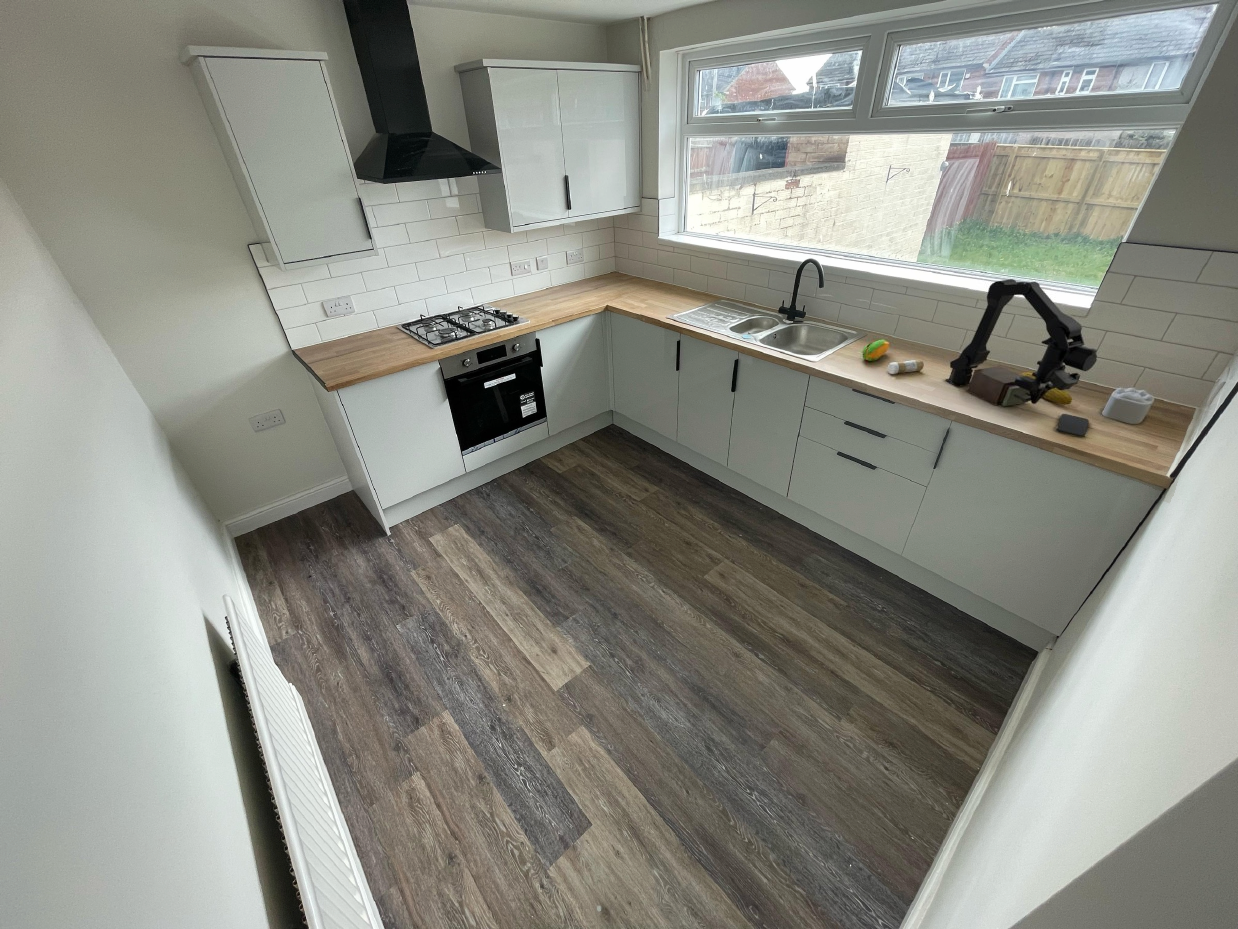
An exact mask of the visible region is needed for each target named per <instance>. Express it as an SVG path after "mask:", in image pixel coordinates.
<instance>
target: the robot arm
mask: <svg viewBox="0 0 1238 929" xmlns="http://www.w3.org/2000/svg"><path fill="white" fill-rule="evenodd" d="M1015 296H1023V297H1024V299H1025V300H1026V301H1027V302H1028V304H1029V305H1030V306H1031V307H1032V308H1033V309H1034V311H1036V313H1037V314H1038V316H1040V318H1041V319H1042V320H1043V322H1044V323H1045V329H1046V332H1047V333H1048V336H1049V337H1048V338H1047V339H1043V340H1042V341H1041V342H1040V343H1041V344H1042V345H1046V349H1045V351H1044V354H1043V356H1042V358H1041V360H1037V362H1036V365H1038V367H1037V369H1036V371H1035V372H1031V373H1032V376H1034V377H1035V378H1031V377H1029V376H1023V377H1018V378H1016V379H1015V381H1014V385H1016V386H1018V387H1021V388H1023V389H1025V390H1027V391H1030V397H1031V401H1030V402H1031V404H1033V405H1036V404H1037V403H1039V401H1040V400H1041V399H1042V398H1044V397H1043V396H1044V395H1045V394H1046V393H1047V392H1048V391H1049V390H1051V389H1054V388H1057V389H1058V390H1061V391H1062V390H1065V391H1067V390H1070V389H1071V388H1072V387H1073V386H1076V385H1078V384H1079V381H1080V377H1081V374H1080V373H1078V372H1073V373H1070V372H1067V371H1065V370H1066V367H1070V368H1073V369H1075V370H1079V371H1082V372H1088V371H1090V370H1091V369H1092V368H1093V367H1094V365H1095V364H1096V362H1097V361H1098V355H1097V352H1098V350H1097V349H1095V348H1090V347H1087V346H1085V341H1084V337H1083V334H1082V330H1083V327H1082V324H1081V323H1080V322H1079V321H1077V320H1076V319H1075V318H1073V317H1072V316H1070V315H1068V314H1065V313H1063V311H1061V309H1060V308H1059V307H1058V306H1057V304H1056V303H1054V301H1053V300H1052V299H1051V297H1049V296H1048V294H1047V293H1046V292H1045V291H1044V290H1043V288H1042V287H1041V285H1040V283H1038V282H1037V281H1016V280H1015V279H1014V278H1009V279H1003V280H997V281H994V282H992V283H991V284H990V285H989V287H988V291H987V294H986V302H987V303H986V304H987V305H986V308H985V309H984V311H983V315H982V317H981V319H980V321H979V323H978V326H977V328H976V330H975V332H974V335H973V337H972V339H971V342H970V343H969V344H968V345H966V347H964V348H963V350H962V351H961V353H960V354H959V356H958V358H957V357H956V359H953V360H952V361H950V362H949V368H950V369H951V372H950V374H949V378H945V381H946V382H947V383H949V384H951V385H953V386H956V387H965V386H969V384H970V381H971V379H972V376H973V373H974V369H978V367H979V366H980V365H983V364H984V362H987V360H988V357H989V355H990V354H991V350H989V349H988V348H987V344H988V342H989V339H990V337H991V335H992V333H993V331H994V330H995V326H996V325H997V322H998V320H999V318H1000V316H1001V314H1002V312H1003V309H1004V307H1006V305H1007V304H1008V303H1010V302H1011V301H1012V299H1013V298H1014V297H1015ZM1070 340H1071V341H1070Z"/></svg>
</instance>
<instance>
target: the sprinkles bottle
mask: <svg viewBox="0 0 1238 929" xmlns="http://www.w3.org/2000/svg"><path fill="white" fill-rule="evenodd" d="M924 366H925V364H924V361H923V360H922V359H916V360H907V361H899V362H898V361H897V362H896V361H895V362H890V363H889V364H888V366H887V371H888V373H889V374H890V375H897V374H903V373H911V372H912V373H913V372H920V371H922V370H923V369H924Z"/></svg>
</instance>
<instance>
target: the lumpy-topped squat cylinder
mask: <svg viewBox="0 0 1238 929" xmlns="http://www.w3.org/2000/svg"><path fill="white" fill-rule="evenodd" d="M1154 401H1155V397H1154V395H1152V394H1150V393H1148V392H1147V390H1146V389H1137V388H1135V387H1134V386H1133V387H1128V388H1124V387H1118V388H1116V389H1115V390H1114V391H1113V392H1112V393H1111V395H1110V397H1109V399H1108V401H1107V403H1106V404H1105V406H1104V408H1103V410H1102V412H1101V414H1102V415H1103V416H1104V417H1105V418H1108V419H1111V420H1116V421H1120V422H1122V423H1126V424H1129V425H1130V424H1131V425H1137V424H1138V425H1139V424H1141V423H1142V422H1143V420H1144V419H1145V417H1146V416H1147V414H1148V412H1149V410H1150V409H1151V406H1152V405H1153V403H1154Z"/></svg>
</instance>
